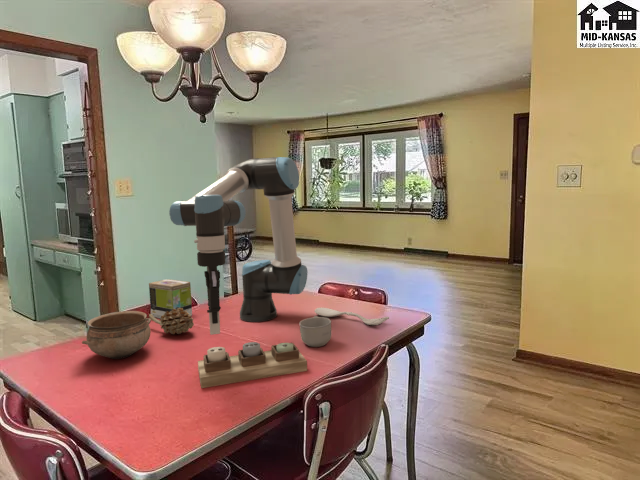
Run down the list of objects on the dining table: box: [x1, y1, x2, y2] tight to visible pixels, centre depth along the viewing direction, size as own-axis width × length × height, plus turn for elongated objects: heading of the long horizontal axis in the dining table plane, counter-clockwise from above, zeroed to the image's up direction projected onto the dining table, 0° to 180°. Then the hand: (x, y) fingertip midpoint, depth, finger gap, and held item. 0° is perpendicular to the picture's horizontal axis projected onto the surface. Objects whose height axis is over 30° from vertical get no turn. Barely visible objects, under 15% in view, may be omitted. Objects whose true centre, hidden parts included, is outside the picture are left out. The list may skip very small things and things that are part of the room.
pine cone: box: [148, 308, 195, 335], centre depth 163 cm, size 22×10×10 cm, turn 67°
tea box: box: [148, 278, 193, 319], centre depth 184 cm, size 15×10×15 cm, turn 58°
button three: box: [242, 341, 261, 358], centre depth 128 cm, size 5×5×3 cm
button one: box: [276, 342, 293, 353], centre depth 131 cm, size 5×5×3 cm
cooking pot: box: [81, 310, 152, 360], centre depth 142 cm, size 25×19×12 cm
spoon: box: [314, 307, 390, 326], centre depth 174 cm, size 9×32×4 cm, turn 53°
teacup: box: [298, 315, 332, 348], centre depth 150 cm, size 14×11×8 cm
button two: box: [206, 346, 227, 363], centre depth 125 cm, size 5×5×3 cm
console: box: [197, 342, 308, 389], centre depth 128 cm, size 12×30×6 cm, turn 109°
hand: (215, 333), depth 124 cm, fingers closed
